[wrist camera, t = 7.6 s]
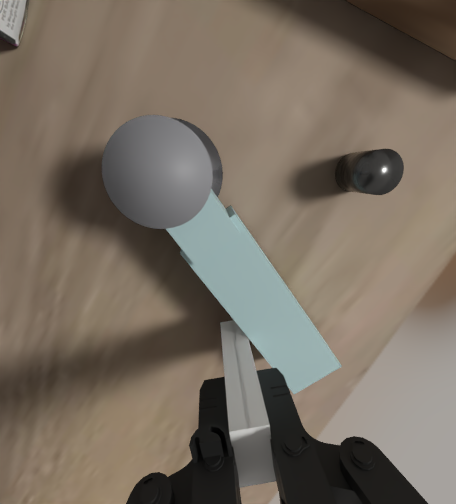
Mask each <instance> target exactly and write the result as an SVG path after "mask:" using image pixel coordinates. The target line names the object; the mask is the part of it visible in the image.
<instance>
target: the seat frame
mask: <svg viewBox="0 0 456 504" xmlns="http://www.w3.org/2000/svg"><path fill="white" fill-rule="evenodd" d="M346 1H347V2H349V3H351V4H353V5H355V6H357V7H358V8H360V9H362V10H364V11H366V12H368V13H369V14H371V15H373V16H375V17H377V18H379V19H380V20H382V21H384V22H386V23H388V24H389V25H391V26H393V27H395V28H397V29H399V30H400V31H402V32H404V33H406V34H408V35H410V36H411V37H413V38H415V39H417V40H419V41H421V42H422V43H424V44H426V45H428V46H430V47H432V48H433V49H435V50H437V51H439V52H441V53H443V54H444V55H446V56H448V57H450V58H452V59H454V60H455V61H456V0H346Z"/></svg>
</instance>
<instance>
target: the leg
mask: <svg viewBox="0 0 456 504" xmlns="http://www.w3.org/2000/svg"><path fill="white" fill-rule="evenodd" d="M102 177H103V182H104V185H105V189H106V191H107V193H108V195H109V197H110V199H111V201H112V202H113V203H114V205H115V206H116V207H117V208H118V209H119V211H120V212H121V213H123V214H124V215H125V216H126V217H127V218H129V219H130V220H132V221H134V222H136V223H138V224H140V225H143V226H145V227H149V228H155V229H166V230H167V231H168V232H169V234H170V235H171V236H172V237H173V239H174V240H175V241H176V242H177V244H178V245H179V246H180V247H181V252H180V254H181V255H182V257H183V258H184V259H185V260H186V262H187V263H188V264H189V265H190V266H191V268H192V269H193V270H194V271H195V273H196V274H197V275H198V276H199V278H200V279H201V280H202V281H203V283H204V284H205V285H206V286H207V287H208V289H209V290H210V291H211V292H212V294H213V295H214V296H215V297H216V299H217V300H218V301H219V302H220V304H221V305H222V306H223V307H224V308H225V310H226V311H227V312H228V313H229V315H230V316H231V317H232V318H233V320H234V321H235V322H236V323H237V325H238V326H239V327H240V328H241V329H242V331H243V332H244V333H245V334H246V336H247V337H248V338H249V339H250V341H251V342H252V343H253V344H254V345H255V347H256V348H257V349H258V350H259V352H260V353H261V354H262V355H263V357H264V358H265V359H266V360H267V362H268V363H269V364H270V365H271V366H272V368H277V369H278V370H279V371H280V372H281V373H282V374H283V375H284V378H285V380H286V383H287V386H288V387H289V389H290V390H291V391H292V392H293V394H296V393H297V392H299V391H301V390H302V389H304V388H306V387H308V386H309V385H311V384H313V383H314V382H316V381H318V380H320V379H321V378H323V377H325V376H326V375H328V374H330V373H331V372H333V371H335V370H337V369H338V368H340V367H342V366H341V364H340V363H339V361H338V360H337V358H336V357H335V355H334V354H333V352H332V351H331V349H330V348H329V346H328V345H327V343H326V342H325V340H324V339H323V337H322V336H321V334H320V333H319V331H318V330H317V328H316V327H315V326H314V324H313V323H312V321H311V320H310V318H309V317H308V316H307V314H306V313H305V311H304V310H303V308H302V307H301V305H300V304H299V303H298V301H297V300H296V298H295V297H294V295H293V294H292V293H291V291H290V290H289V288H288V287H287V285H286V284H285V283H284V281H283V280H282V278H281V277H280V275H279V274H278V272H277V271H276V270H275V268H274V267H273V265H272V264H271V262H270V261H269V260H268V258H267V257H266V255H265V254H264V252H263V251H262V249H261V248H260V247H259V245H258V244H257V242H256V241H255V239H254V238H253V237H252V235H251V234H250V232H249V231H248V229H247V228H246V226H245V225H244V224H243V222H242V221H241V219H240V218H239V216H238V215H237V214H236V212H235V211H234V209H233V208H232V206H231V205H230V206H229V207H227V208H226V209H225V207H224V206H223V205H222V203H221V202H220V200H219V199H218V197H217V196H216V195H215V193H214V192H213V190H212V189H211V187H212V179H213V174H212V165H211V161H210V158H209V155H208V152H207V150H206V148H205V146H204V145H203V143H202V141H201V140H200V139H199V138H198V136H197V135H196V134H195V133H194V132H193V131H192V130H191V129H189V128H188V127H187V126H186V125H184V124H182V123H181V122H179V121H177V120H174V119H172V118H169V117H165V116H159V115H146V116H140V117H137V118H134V119H132V120H130V121H128V122H126V123H125V124H123V125H122V126H120V127H119V128H118V129H117V130H116V131H115V132H114V134H113V135H112V136H111V138H110V139H109V141H108V143H107V145H106V147H105V150H104V154H103V158H102Z"/></svg>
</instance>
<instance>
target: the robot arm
mask: <svg viewBox="0 0 456 504" xmlns="http://www.w3.org/2000/svg"><path fill="white" fill-rule="evenodd" d="M220 326H221V338H222V350H223V363H224V375H225V377H221V378H215V379H209V380H204V382H203V384H202V387H201V389H200V398H199V401H200V402H199V425H198V429H197V430H196V431H195V433H194V434H193V436H192V437H191V440H190V444H189V446H190V450H191V454H192V458H193V459H192V460H191V461H190V462H189V464H188V465H187V466H185V467H184V468H183V469H181V470H180V471H178V472H176V473H174V474H172V475H171V476H169V477H167V476H166V475H165V474H162V473H160V472H157V473H151V474H149V475H147V476H145V477H143V478H142V479H141V480H140V481H139V482H138V483H137V484H136V485H135V487H134V489H133V490H132V492H131V494H130V496H129V498H128V501H127V503H126V504H242V503H241V497H240V487H245V486H251V485H258V484H263V483H268V482H274V481H276V482H277V486H278V491H279V496H280V504H428V503H427V502H426V501H425V499H424V498H423V497H422V496H421V495H420V494H419V493H418V492H417V491H416V489H415V488H414V487H413V486H412V485H411V484H410V483H409V482H408V481H407V480H406V478H405V477H404V476H403V475H402V474H401V473H400V472H399V470H397V468H396V467H395V466H394V465H393V464H392V463H391V462H390V460H389V459H388V458H387V457H386V456H385V455H384V454H383V453H382V451H381V450H380V449H379V448H378V447H377V446H375V445H374V444H373V443H372V442H370V441H368V440H366V439H364V438H361V437H350V438H346V439H345V440H344V441H343V442H342V443H341V445H333V444H327V443H323V442H320V441H318V440H316V439H314V438H312V437H311V436H310V435H309V434H308V433H307V432H306V431H305V429H304V427H303V426H302V423H301V421H300V418H299V415H298V413H297V410H296V407H295V404H294V402H293V399H292V396H291V395H290V391H289V388H288V386H287V383H286V380H285V378H284V375H283V374H282V373H281V372H280V371H279V370H278V369H277V368H271V369H265V370H259V371H256V367H255V363H254V359H253V355H252V351H251V347H250V343H249V339H248V337H247V336H246V334H245V333H244V332H243V331H242V329H241V328H240V327H239V326H238V325H237V323H236V322H235V321H234V320H232V321H226V322H220Z"/></svg>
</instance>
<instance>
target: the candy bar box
mask: <svg viewBox="0 0 456 504" xmlns="http://www.w3.org/2000/svg"><path fill="white" fill-rule="evenodd" d="M28 4H29V0H0V39H2V40H4V41H6V42H8V43H10V44H12V45H14V46H19V44H20V41H21V38H22V35H23V31H24V27H25V24H26V19H27V10H28Z"/></svg>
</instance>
